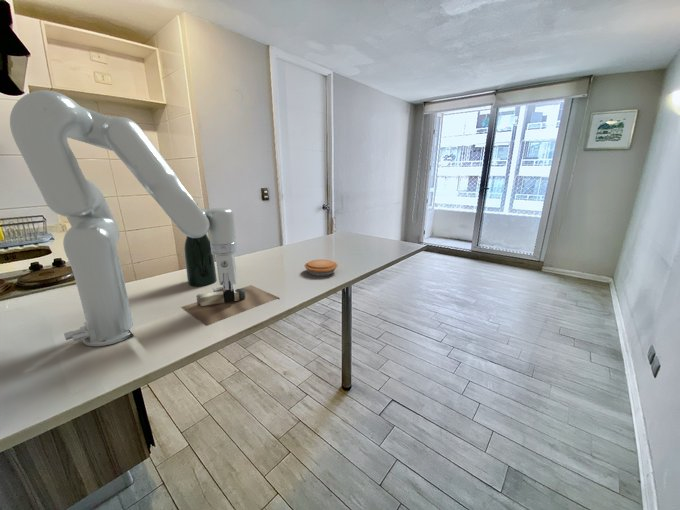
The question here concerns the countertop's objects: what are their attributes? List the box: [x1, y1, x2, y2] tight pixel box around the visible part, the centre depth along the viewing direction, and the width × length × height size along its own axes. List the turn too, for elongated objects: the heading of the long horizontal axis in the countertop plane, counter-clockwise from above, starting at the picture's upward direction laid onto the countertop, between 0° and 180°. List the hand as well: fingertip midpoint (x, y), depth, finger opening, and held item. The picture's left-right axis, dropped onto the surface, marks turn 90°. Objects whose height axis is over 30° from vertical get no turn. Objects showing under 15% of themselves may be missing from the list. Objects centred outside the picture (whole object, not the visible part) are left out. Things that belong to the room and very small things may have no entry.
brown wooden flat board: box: [180, 284, 280, 327], centre depth 95 cm, size 26×18×4 cm
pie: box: [304, 259, 339, 277], centre depth 130 cm, size 15×16×5 cm
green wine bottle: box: [183, 202, 218, 288], centre depth 109 cm, size 10×10×33 cm
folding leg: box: [195, 287, 245, 306], centre depth 95 cm, size 15×3×3 cm, turn 115°
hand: (229, 301), depth 93 cm, fingers closed
